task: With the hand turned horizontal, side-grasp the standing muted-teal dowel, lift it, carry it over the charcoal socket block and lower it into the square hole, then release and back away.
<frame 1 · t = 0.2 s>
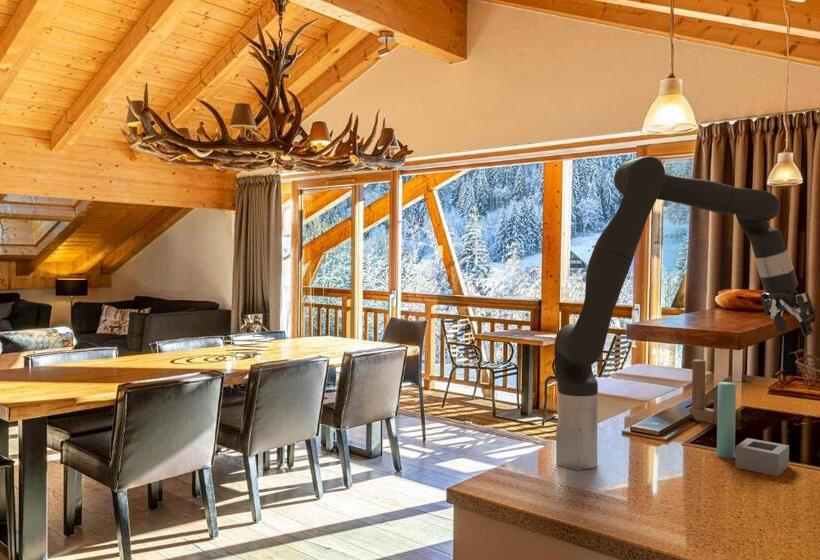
hand: (795, 333, 161), 30 cm above the counter, tool tilted 20°, fingers open, 8 cm apart
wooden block: (709, 422, 192), on the counter
peg: (725, 455, 161), on the counter
socket block: (762, 466, 152), on the counter
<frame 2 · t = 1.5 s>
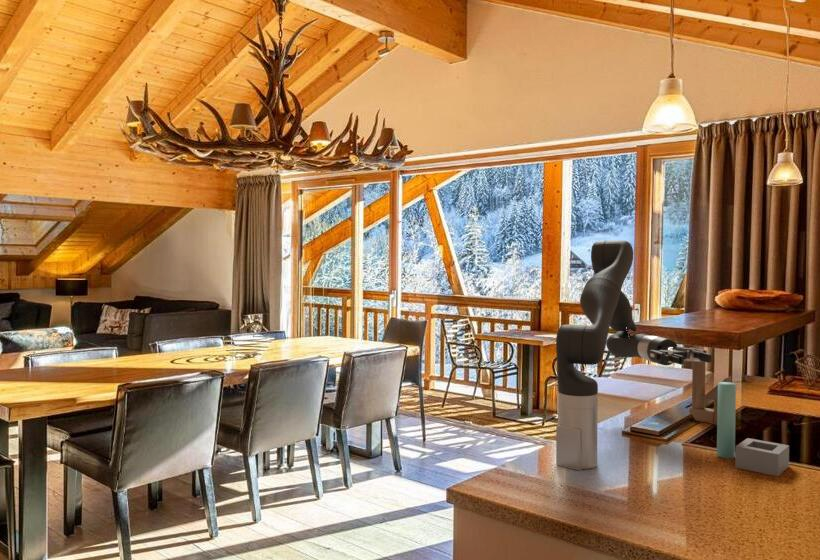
hand: (696, 359, 170), 22 cm above the counter, tool horizontal, fingers open, 8 cm apart
nothing on the counter moved.
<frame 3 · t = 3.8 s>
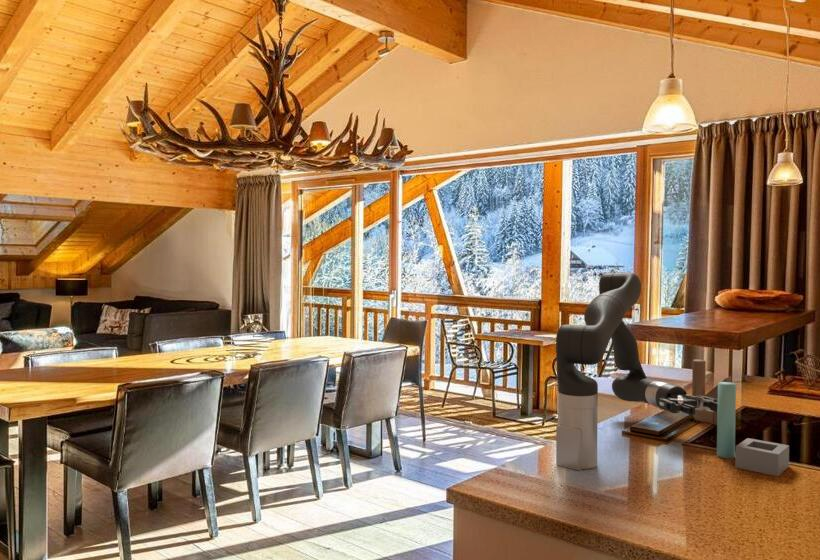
hand: (708, 410, 166), 10 cm above the counter, tool horizontal, fingers open, 8 cm apart
nothing on the counter moved.
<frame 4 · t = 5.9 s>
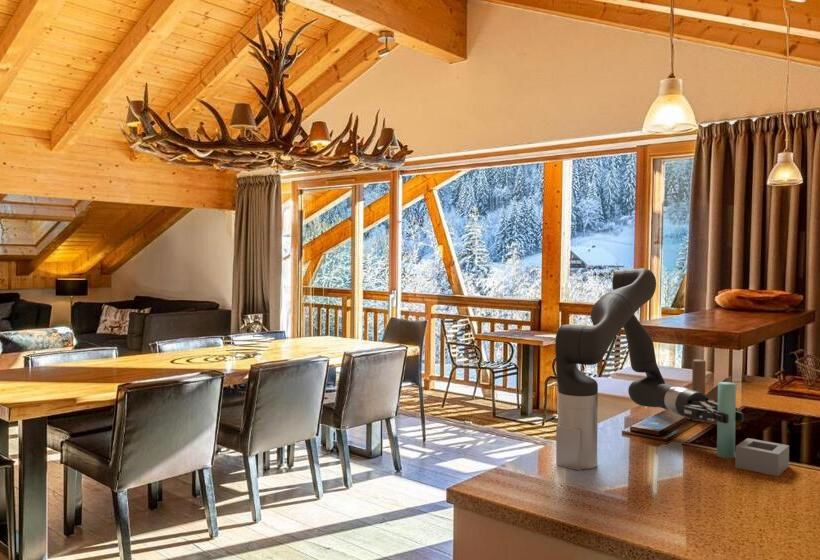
hand: (734, 418, 158), 10 cm above the counter, tool horizontal, fingers closed on peg, 4 cm apart
peg: (725, 455, 161), on the counter, touching gripper
everything else where it was.
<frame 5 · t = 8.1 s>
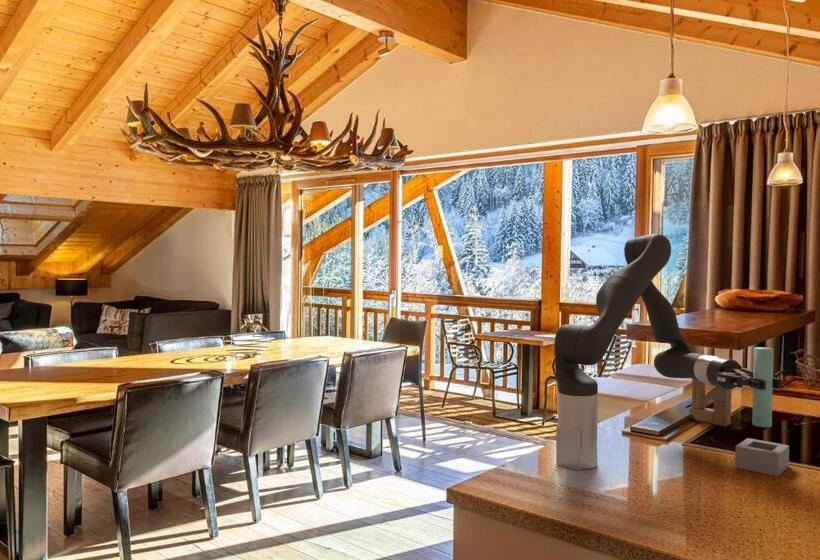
hand: (772, 384, 149), 20 cm above the counter, tool horizontal, fingers closed on peg, 4 cm apart
peg: (761, 424, 152), point 10 cm above the counter, touching gripper
everything else where it was.
when the fingers open (12 cm above the counter, at t = 10.3 s): peg drops 1 cm, resting on socket block.
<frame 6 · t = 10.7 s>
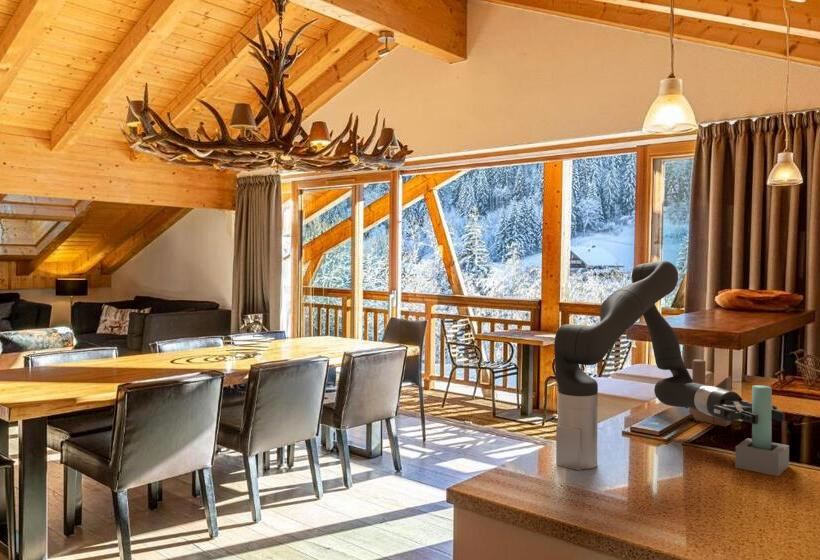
hand: (770, 418, 150), 12 cm above the counter, tool horizontal, fingers open, 7 cm apart
peg: (761, 463, 152), point 1 cm above the counter, touching socket block
everything else where it was.
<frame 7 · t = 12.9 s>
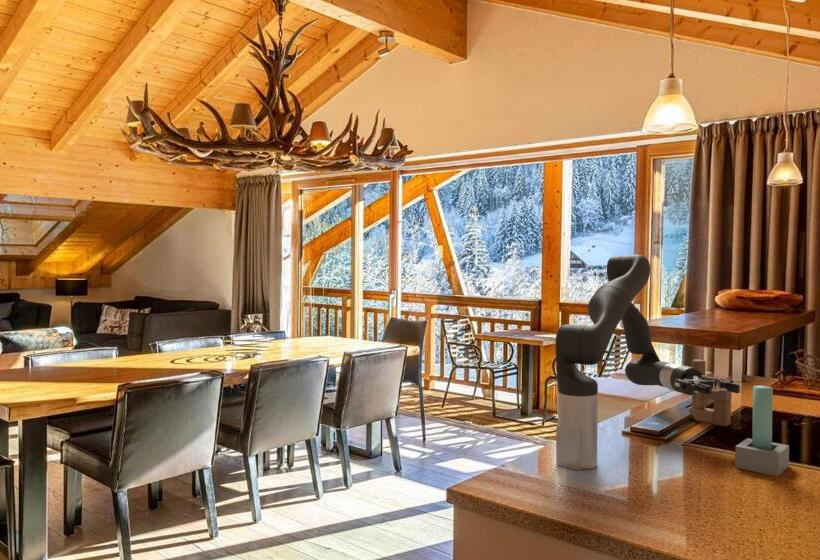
hand: (724, 389, 163), 16 cm above the counter, tool horizontal, fingers open, 8 cm apart
nothing on the counter moved.
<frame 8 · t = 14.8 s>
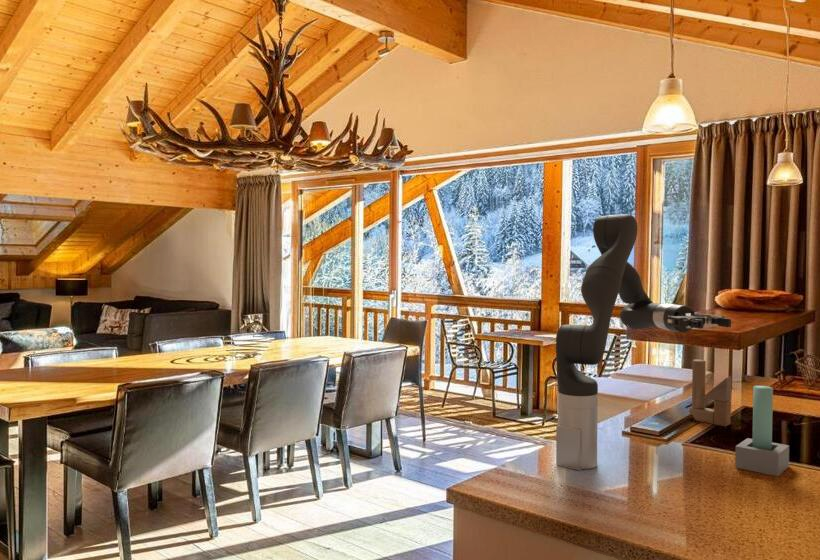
hand: (716, 323, 166), 32 cm above the counter, tool horizontal, fingers open, 8 cm apart
nothing on the counter moved.
at the end: peg 0.1 cm off-centre on the socket block, point 0.8 cm above the socket block's base; peg tilted 0°; the gripper is holding nothing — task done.
